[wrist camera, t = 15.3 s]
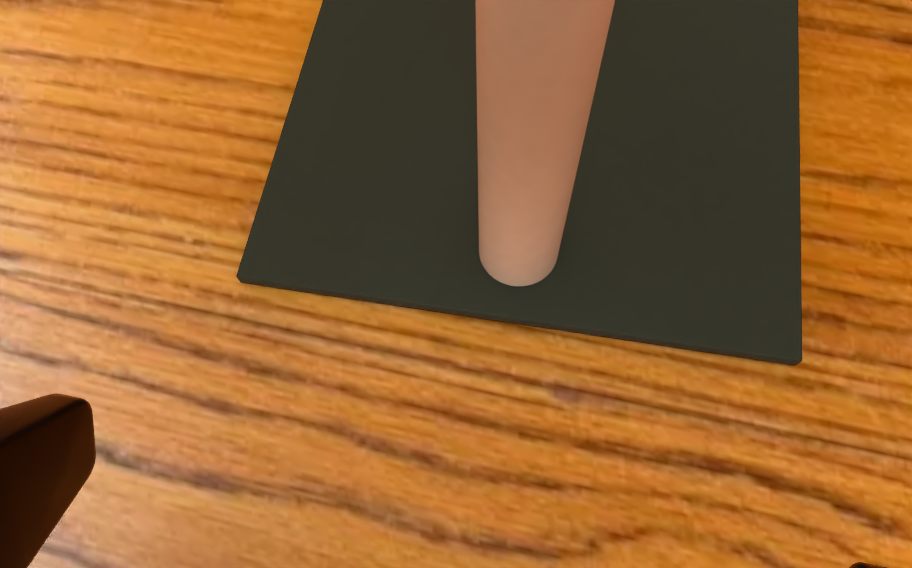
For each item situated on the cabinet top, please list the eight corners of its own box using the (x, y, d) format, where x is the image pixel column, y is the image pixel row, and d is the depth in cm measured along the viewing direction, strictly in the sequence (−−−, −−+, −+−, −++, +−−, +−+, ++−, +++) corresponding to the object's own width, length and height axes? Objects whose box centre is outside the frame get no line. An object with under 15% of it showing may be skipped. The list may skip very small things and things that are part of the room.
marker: (568, 281, 18) (704, -209, 7) (485, 296, 18) (488, -176, 7) (549, 208, 19) (642, -335, 8) (470, 222, 19) (450, -305, 8)
